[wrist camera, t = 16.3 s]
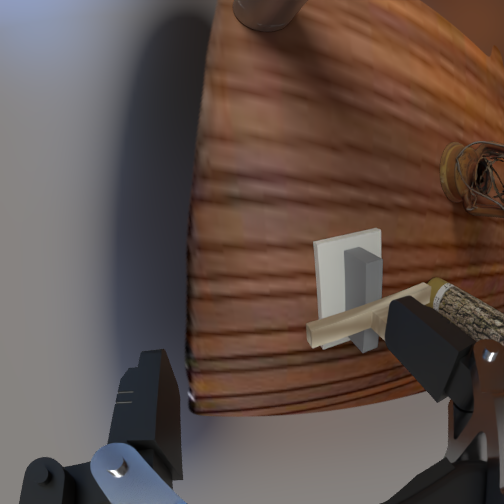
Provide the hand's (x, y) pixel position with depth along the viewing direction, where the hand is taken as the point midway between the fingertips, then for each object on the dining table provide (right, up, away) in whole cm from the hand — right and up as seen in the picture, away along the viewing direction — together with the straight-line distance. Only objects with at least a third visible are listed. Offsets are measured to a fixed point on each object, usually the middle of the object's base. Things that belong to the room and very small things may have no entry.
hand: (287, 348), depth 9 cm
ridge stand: (+16, -3, +39) cm, 42 cm away
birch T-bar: (+17, -6, +31) cm, 36 cm away
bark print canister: (+38, -5, +45) cm, 59 cm away
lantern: (+42, +20, +38) cm, 60 cm away
